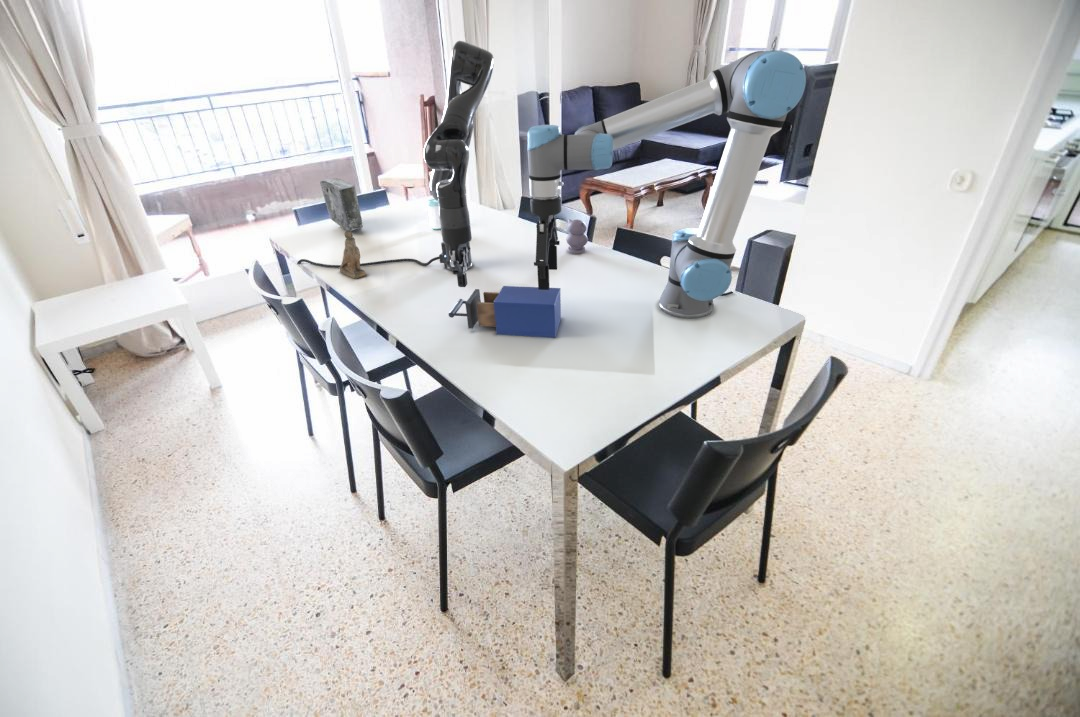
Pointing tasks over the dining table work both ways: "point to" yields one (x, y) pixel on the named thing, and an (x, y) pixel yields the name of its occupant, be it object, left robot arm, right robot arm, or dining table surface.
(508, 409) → the dining table surface
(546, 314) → the cabinet
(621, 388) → the dining table surface
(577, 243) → the cat figurine
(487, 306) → the drawer
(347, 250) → the worn brown figurine
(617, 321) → the dining table surface
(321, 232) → the dining table surface
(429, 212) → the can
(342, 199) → the concrete block
